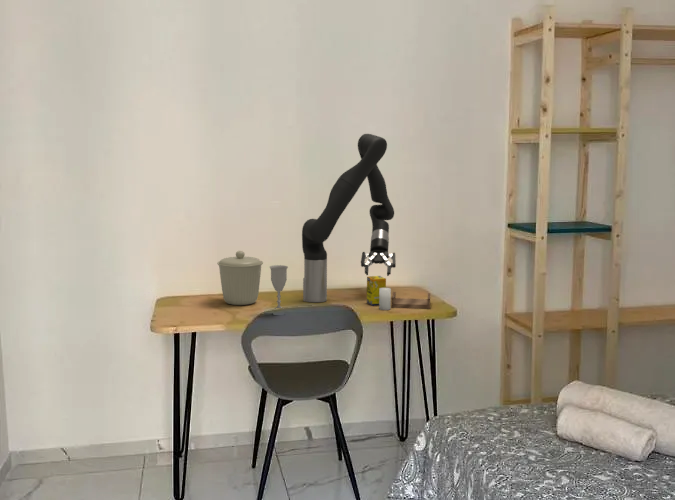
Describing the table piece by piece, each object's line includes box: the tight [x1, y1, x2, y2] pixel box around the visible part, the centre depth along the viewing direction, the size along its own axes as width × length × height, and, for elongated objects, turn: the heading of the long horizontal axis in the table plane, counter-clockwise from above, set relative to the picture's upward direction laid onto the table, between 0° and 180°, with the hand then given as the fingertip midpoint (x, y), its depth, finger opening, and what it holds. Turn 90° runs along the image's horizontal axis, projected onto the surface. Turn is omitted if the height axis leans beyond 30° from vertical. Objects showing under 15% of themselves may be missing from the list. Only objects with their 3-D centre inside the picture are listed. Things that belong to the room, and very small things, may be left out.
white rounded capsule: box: [378, 287, 392, 311], centre depth 295 cm, size 4×4×8 cm
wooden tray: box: [391, 291, 431, 310], centre depth 302 cm, size 15×11×4 cm
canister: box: [217, 250, 264, 306], centre depth 303 cm, size 18×18×21 cm
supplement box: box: [366, 275, 387, 307], centre depth 303 cm, size 6×6×11 cm
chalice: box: [269, 264, 289, 309], centre depth 285 cm, size 7×7×18 cm
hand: (377, 274), depth 309 cm, fingers open, 8 cm apart
